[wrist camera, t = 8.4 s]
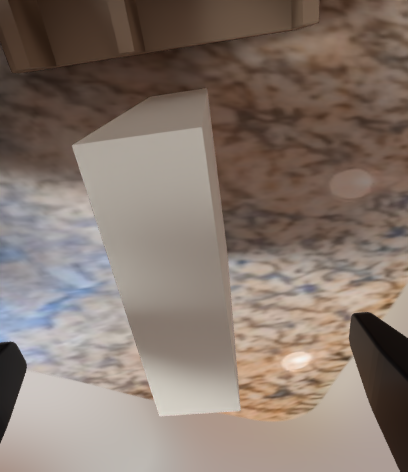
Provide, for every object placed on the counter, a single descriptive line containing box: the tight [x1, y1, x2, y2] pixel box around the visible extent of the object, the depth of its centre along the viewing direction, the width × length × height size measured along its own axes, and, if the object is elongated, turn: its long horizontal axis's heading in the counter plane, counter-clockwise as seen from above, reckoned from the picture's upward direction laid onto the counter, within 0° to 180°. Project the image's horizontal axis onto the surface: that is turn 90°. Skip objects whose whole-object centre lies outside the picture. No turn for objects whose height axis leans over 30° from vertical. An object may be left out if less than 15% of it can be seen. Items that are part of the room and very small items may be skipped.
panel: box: [72, 88, 241, 416], centre depth 15 cm, size 10×3×11 cm, turn 8°
